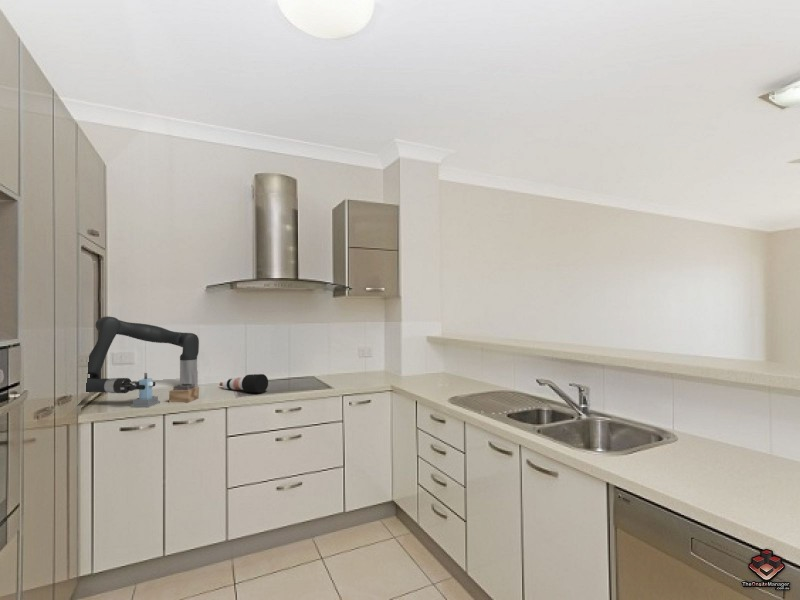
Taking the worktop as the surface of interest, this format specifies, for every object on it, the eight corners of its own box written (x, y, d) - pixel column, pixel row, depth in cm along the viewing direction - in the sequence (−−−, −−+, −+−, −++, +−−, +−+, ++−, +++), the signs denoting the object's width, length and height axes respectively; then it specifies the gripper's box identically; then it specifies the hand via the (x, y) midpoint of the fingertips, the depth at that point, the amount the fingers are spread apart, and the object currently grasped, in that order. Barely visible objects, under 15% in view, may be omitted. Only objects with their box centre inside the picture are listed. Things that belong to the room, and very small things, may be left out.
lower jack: (143, 402, 207) (143, 395, 207) (160, 402, 206) (160, 395, 207) (130, 407, 198) (130, 400, 198) (148, 407, 198) (148, 400, 198)
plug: (144, 401, 204) (144, 372, 204) (154, 402, 204) (154, 372, 204) (139, 403, 200) (139, 373, 200) (149, 403, 200) (149, 373, 200)
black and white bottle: (224, 394, 244) (230, 378, 248) (265, 394, 228) (270, 377, 233) (211, 390, 236) (216, 373, 241) (252, 389, 220) (257, 371, 225)
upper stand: (180, 398, 217) (180, 383, 217) (198, 398, 216) (198, 383, 216) (169, 402, 207) (169, 387, 207) (188, 402, 206) (188, 387, 206)
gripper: (107, 380, 196) (140, 380, 195) (128, 375, 210) (159, 375, 209) (107, 396, 196) (140, 396, 195) (128, 389, 210) (159, 390, 209)
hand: (149, 385), depth 202 cm, fingers open, 7 cm apart
